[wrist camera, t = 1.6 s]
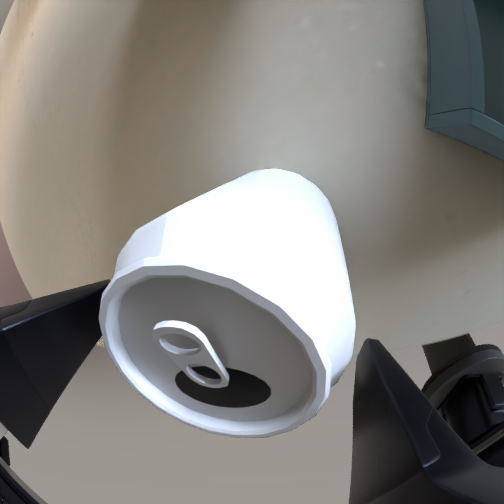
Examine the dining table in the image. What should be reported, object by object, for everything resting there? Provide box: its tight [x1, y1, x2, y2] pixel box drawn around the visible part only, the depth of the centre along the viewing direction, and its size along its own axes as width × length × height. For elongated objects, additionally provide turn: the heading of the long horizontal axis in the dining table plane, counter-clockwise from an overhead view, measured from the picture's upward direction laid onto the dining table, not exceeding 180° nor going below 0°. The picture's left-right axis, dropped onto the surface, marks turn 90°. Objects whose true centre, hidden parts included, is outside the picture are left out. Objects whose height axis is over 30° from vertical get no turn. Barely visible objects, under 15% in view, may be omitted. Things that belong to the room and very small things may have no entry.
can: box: [99, 169, 356, 438], centre depth 11 cm, size 8×8×12 cm
